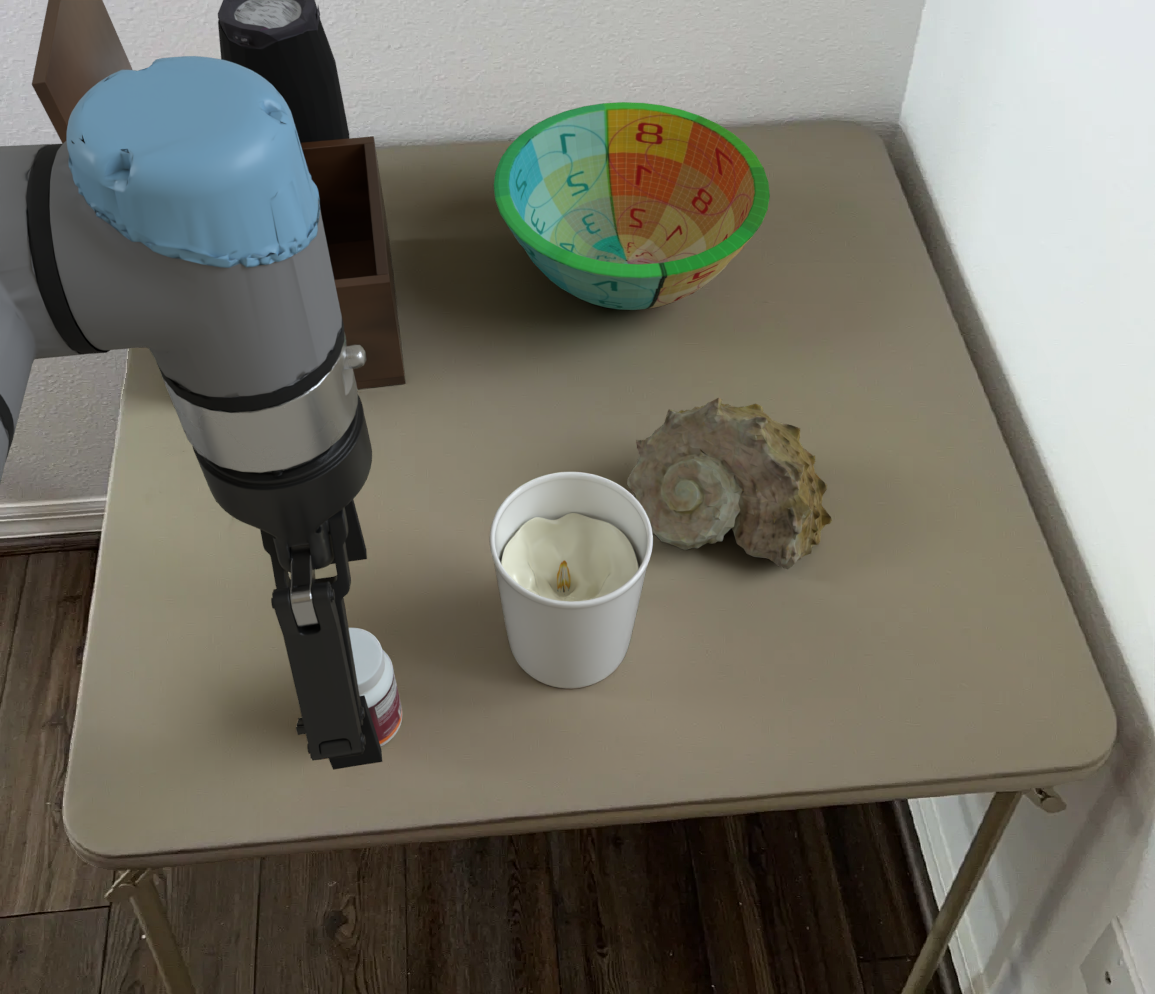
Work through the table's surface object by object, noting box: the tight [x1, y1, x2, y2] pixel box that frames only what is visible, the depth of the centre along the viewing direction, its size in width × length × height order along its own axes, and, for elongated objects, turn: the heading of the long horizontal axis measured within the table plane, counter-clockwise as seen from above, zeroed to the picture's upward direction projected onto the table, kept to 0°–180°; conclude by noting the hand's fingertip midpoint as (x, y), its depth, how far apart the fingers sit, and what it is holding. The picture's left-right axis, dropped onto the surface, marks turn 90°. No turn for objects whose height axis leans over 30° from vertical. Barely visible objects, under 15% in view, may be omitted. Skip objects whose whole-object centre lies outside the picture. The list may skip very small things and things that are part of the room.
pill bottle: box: [348, 627, 403, 747], centre depth 70 cm, size 5×5×8 cm
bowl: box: [493, 101, 771, 311], centre depth 95 cm, size 22×22×10 cm
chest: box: [300, 135, 407, 390], centre depth 91 cm, size 17×18×11 cm
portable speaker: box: [217, 0, 350, 143], centre depth 97 cm, size 9×9×20 cm
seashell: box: [626, 397, 833, 570], centre depth 80 cm, size 11×14×10 cm
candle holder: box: [488, 471, 654, 689], centre depth 72 cm, size 10×10×12 cm
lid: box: [31, 0, 134, 144], centre depth 78 cm, size 18×18×1 cm
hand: (350, 652), depth 66 cm, fingers open, 13 cm apart
